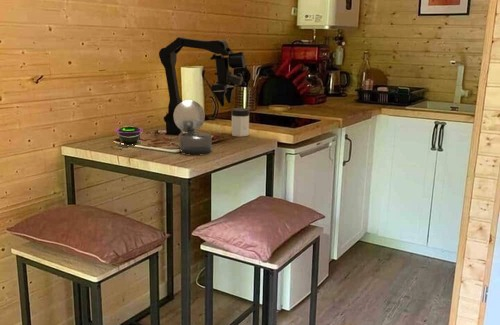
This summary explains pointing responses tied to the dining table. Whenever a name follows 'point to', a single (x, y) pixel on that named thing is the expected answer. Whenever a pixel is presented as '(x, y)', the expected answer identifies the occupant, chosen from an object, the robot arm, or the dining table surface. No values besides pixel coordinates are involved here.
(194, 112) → the cooker lid
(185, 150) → the cooker pot
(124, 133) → the toy cauldron
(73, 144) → the dining table surface
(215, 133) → the dining table surface
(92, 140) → the dining table surface
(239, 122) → the jar
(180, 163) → the dining table surface
